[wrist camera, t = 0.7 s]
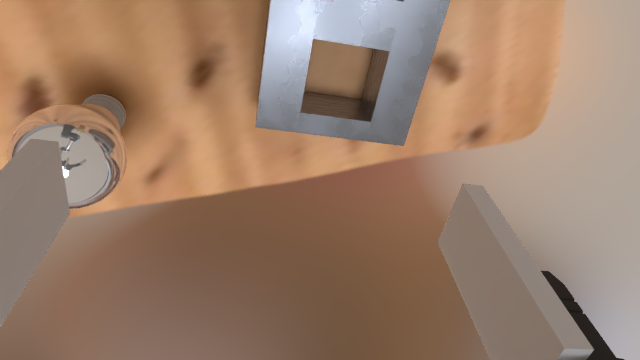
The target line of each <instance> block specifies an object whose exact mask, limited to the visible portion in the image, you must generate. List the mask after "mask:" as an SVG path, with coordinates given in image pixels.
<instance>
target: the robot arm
mask: <svg viewBox="0 0 640 360" xmlns="http://www.w3.org/2000/svg"><path fill="white" fill-rule="evenodd" d="M69 214H70V210H69V204H68V198H67V192H66V186H65V179H64V173H63V167H62V161H61V155H60V149H59V143H58V141H48V140H39V139H30V140H29V141H28V142H27V143H26V144H25V145H24V146H23V147H22V148H21V149H20V150H19V152H18V153H17V154H16V155H15V156H14V157H13V158H12V159H11V160H10V161H9V162H8V163H7V164H6V165H5V166H4V168H3V169H2V170H1V171H0V327H1V326H2V324H3V322H4V320H5V319H6V317H7V316H8V314H9V312H10V311H11V309H12V308H13V306H14V304H15V303H16V301H17V299H18V298H19V296H20V294H21V293H22V291H23V289H24V288H25V286H26V285H27V283H28V281H29V280H30V278H31V276H32V275H33V273H34V272H35V270H36V268H37V266H38V265H39V263H40V262H41V260H42V258H43V257H44V255H45V254H46V252H47V250H48V249H49V247H50V245H51V244H52V242H53V240H54V239H55V237H56V236H57V234H58V232H59V230H60V229H61V227H62V226H63V224H64V222H65V221H66V219H67V217H68V216H69ZM438 244H439V246H440V249H441V251H442V253H443V255H444V258H445V260H446V262H447V264H448V266H449V269H450V271H451V273H452V275H453V278H454V280H455V282H456V284H457V286H458V289H459V291H460V293H461V295H462V298H463V300H464V302H465V304H466V306H467V309H468V311H469V313H470V315H471V317H472V320H473V322H474V324H475V327H476V329H477V331H478V333H479V335H480V338H481V340H482V342H483V344H484V347H485V349H486V351H487V353H488V355H489V358H490V360H624V359H619V358H616V357H615V355H614V354H613V352H612V351H611V350H610V348H609V347H608V346H607V344H606V343H605V341H604V340H603V338H602V337H601V336H600V334H599V333H598V331H597V330H596V329H595V327H594V326H593V324H592V323H591V322H590V321H589V319H588V318H587V316H586V315H585V314H583V311H582V309H581V308H580V306H579V305H578V303H577V302H574V298H573V297H572V295H571V294H570V292H569V291H568V289H567V288H566V287H565V285H564V284H563V283H562V282H560V281H559V280H558V279H557V278H556V277H555V276H553V275H552V274H551V273H550V272H549V271H540V270H539V268H538V267H537V265H536V264H535V262H534V261H533V259H532V258H531V256H530V255H529V253H528V252H527V250H526V249H525V247H524V246H523V244H522V243H521V241H520V240H519V238H518V237H517V236H516V234H515V233H514V231H513V230H512V228H511V227H510V225H509V224H508V222H507V221H506V219H505V218H504V217H503V215H502V214H501V212H500V211H499V209H498V208H497V206H496V205H495V203H494V202H493V200H492V199H491V197H490V196H489V194H488V193H487V191H486V190H485V189H484V187H483V186H480V185H471V184H462V186H461V189H460V191H459V194H458V196H457V198H456V201H455V203H454V205H453V208H452V210H451V212H450V215H449V217H448V220H447V222H446V224H445V226H444V229H443V231H442V233H441V236H440V238H439V241H438Z"/></svg>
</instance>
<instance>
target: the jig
mask: <svg viewBox="0 0 640 360" xmlns="http://www.w3.org/2000/svg"><path fill="white" fill-rule="evenodd" d="M449 3H450V0H270V1H269V9H268V17H267V26H266V34H265V43H264V51H263V60H262V68H261V76H260V85H259V93H258V102H257V114H256V127H258V128H266V129H274V130H282V131H290V132H298V133H305V134H313V135H321V136H329V137H337V138H345V139H353V140H361V141H369V142H377V143H385V144H393V145H400V146H404V143H405V140H406V137H407V134H408V131H409V128H410V125H411V122H412V118H413V115H414V112H415V109H416V106H417V103H418V100H419V96H420V93H421V90H422V87H423V84H424V81H425V78H426V75H427V71H428V68H429V65H430V62H431V59H432V56H433V53H434V50H435V46H436V43H437V40H438V37H439V34H440V31H441V28H442V25H443V21H444V18H445V15H446V12H447V9H448V6H449ZM313 39H318V40H324V41H330V42H336V43H342V44H348V45H354V46H361V47H367V48H373V49H374V51H373V55H372V59H371V63H370V67H369V71H368V75H367V79H366V83H365V87H364V91H363V95H362V99H361V100H360V99H353V98H346V97H339V96H332V95H325V94H318V93H311V92H304V89H305V83H306V77H307V71H308V66H309V60H310V54H311V49H312V43H313Z"/></svg>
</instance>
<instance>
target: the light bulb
mask: <svg viewBox="0 0 640 360" xmlns="http://www.w3.org/2000/svg"><path fill="white" fill-rule="evenodd" d="M125 120H126V112H125V109H124V107H123V105H122V104H121V103H120V102H119V101H118V100H117V99H115V98H114V97H111V96H109V95H105V94H95V95H91V96H89V97H87V98H86V99H85V100H84V101H83V102H82V103H81V104H79V105H74V104H58V105H52V106H49V107H45V108H42V109H39V110H38V111H36V112H34V113H32V114H31V115H29V116H27V117H26V118H25V119H24V120H23V121H22V122H21V123H20V124H19V125H18V127H17V128H16V129H15V131H14V132H13V134H12V136H11V139H10V142H9V146H8V150H7V160H8V162H9V161H10V160H11V159H12V158H13V157H14V156H15V155H16V154H17V153H18V152H19V150H20V149H21V148H22V147H23V146H24V145H25V144H26V143H27V142H28V141H29V140H30V139H39V140H48V141H58V143H59V149H60V155H61V161H62V167H63V173H64V179H65V186H66V192H67V198H68V204H69V209H77V208H82V207H86V206H89V205H93V204H95V203H97V202H99V201H101V200H102V199H104V198H105V197H107V196H108V195H109V194H110V193H112V192H113V191H114V189H115V188H116V187H117V185H118V184H119V183H120V181H121V180H122V178H123V175H124V173H125V170H126V165H127V151H126V145H125V142H124V139H123V137H122V135H121V134H120V129H121V128H122V126H123V125H124V123H125Z"/></svg>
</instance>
